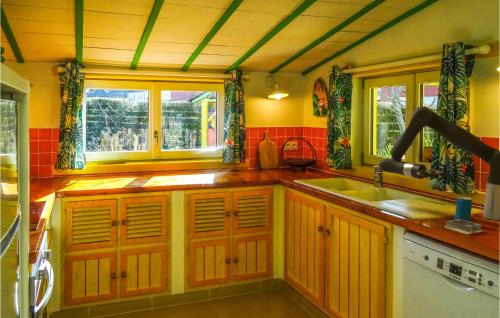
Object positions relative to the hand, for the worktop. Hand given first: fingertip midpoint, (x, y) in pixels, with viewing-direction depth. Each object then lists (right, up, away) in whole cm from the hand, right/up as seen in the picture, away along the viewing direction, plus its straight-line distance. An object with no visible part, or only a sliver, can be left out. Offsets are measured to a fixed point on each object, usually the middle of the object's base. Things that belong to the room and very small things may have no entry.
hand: (443, 176), depth 209 cm
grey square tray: (0, -23, -18) cm, 29 cm away
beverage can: (+5, -22, -7) cm, 24 cm away
